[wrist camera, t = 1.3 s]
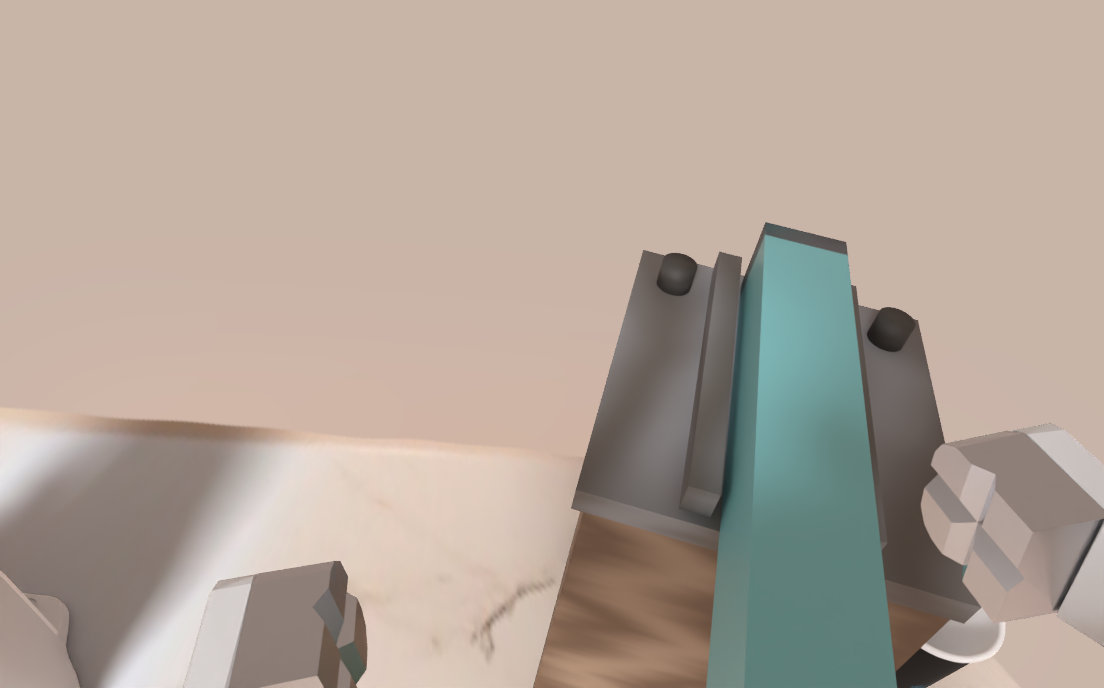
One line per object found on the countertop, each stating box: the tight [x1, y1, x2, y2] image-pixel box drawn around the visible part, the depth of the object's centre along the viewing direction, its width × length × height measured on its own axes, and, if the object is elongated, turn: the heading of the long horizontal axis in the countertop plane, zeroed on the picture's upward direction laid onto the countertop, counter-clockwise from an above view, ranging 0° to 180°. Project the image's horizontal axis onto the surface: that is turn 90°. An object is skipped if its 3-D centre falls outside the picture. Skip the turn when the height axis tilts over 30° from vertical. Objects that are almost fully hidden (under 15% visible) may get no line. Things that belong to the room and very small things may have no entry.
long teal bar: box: [706, 223, 897, 688], centre depth 27 cm, size 4×26×4 cm, turn 166°
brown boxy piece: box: [533, 250, 981, 688], centre depth 41 cm, size 15×17×27 cm
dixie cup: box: [895, 607, 1006, 688], centre depth 47 cm, size 8×8×11 cm
